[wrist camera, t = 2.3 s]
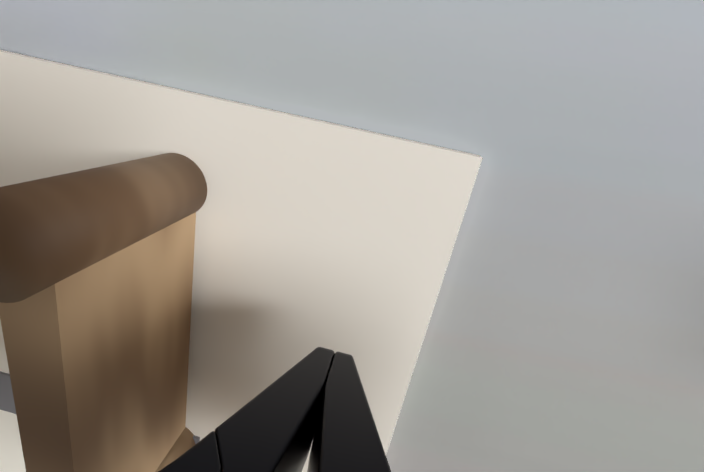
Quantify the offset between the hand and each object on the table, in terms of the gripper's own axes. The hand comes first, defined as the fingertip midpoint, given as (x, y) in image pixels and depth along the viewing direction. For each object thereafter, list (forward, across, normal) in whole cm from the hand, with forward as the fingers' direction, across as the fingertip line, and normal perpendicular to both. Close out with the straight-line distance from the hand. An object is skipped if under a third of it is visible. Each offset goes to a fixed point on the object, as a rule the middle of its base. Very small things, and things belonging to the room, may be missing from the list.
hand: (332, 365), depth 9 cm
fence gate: (+2, +5, +2) cm, 6 cm away
